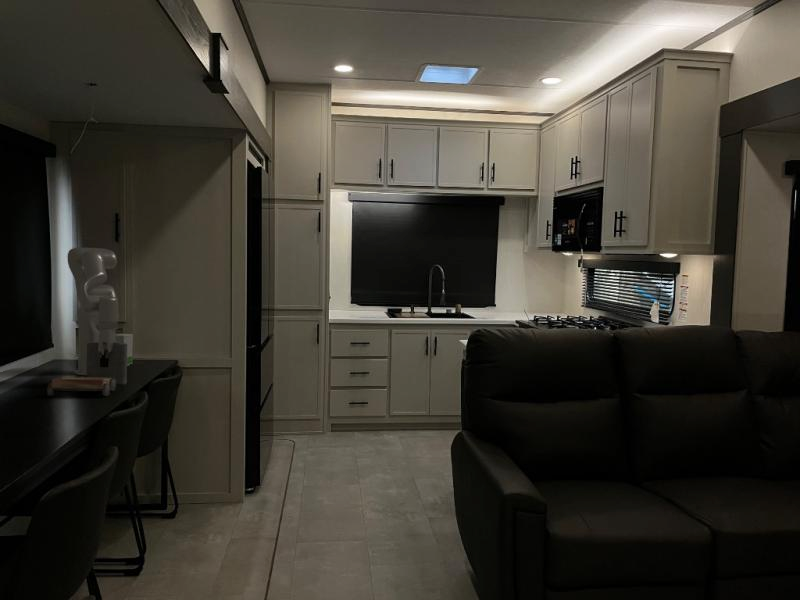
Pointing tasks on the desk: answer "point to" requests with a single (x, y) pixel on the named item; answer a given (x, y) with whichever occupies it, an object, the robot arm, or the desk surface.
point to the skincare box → (129, 340)
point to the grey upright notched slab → (116, 363)
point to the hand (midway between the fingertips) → (107, 365)
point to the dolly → (82, 385)
